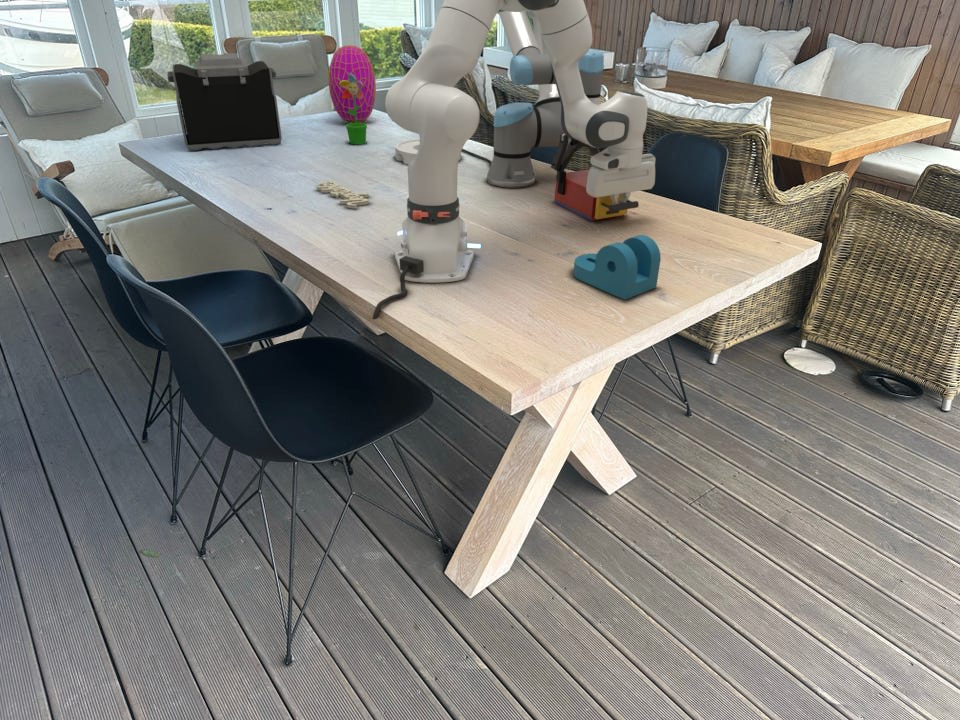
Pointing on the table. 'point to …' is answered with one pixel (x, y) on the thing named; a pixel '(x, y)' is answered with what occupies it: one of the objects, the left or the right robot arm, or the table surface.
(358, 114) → the decorative egg
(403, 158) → the ashtray
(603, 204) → the drawer
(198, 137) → the electronic device
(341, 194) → the decorative sign
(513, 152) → the right robot arm
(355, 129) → the potted flower
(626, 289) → the camera mount
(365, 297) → the table surface
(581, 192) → the red case
